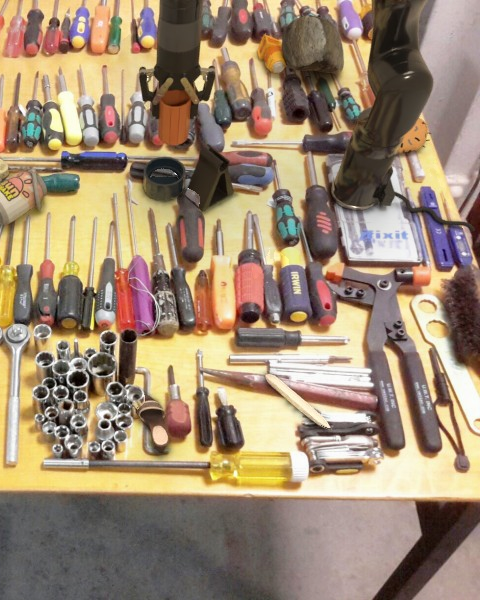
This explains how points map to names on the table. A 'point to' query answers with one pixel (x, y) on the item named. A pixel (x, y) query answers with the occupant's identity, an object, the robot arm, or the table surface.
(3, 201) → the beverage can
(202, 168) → the phone stand
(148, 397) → the heeled mule
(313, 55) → the stone
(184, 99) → the small pot
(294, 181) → the table surface
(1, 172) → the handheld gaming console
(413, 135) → the toy
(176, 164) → the big pot
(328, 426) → the light wooden rod
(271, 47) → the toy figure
